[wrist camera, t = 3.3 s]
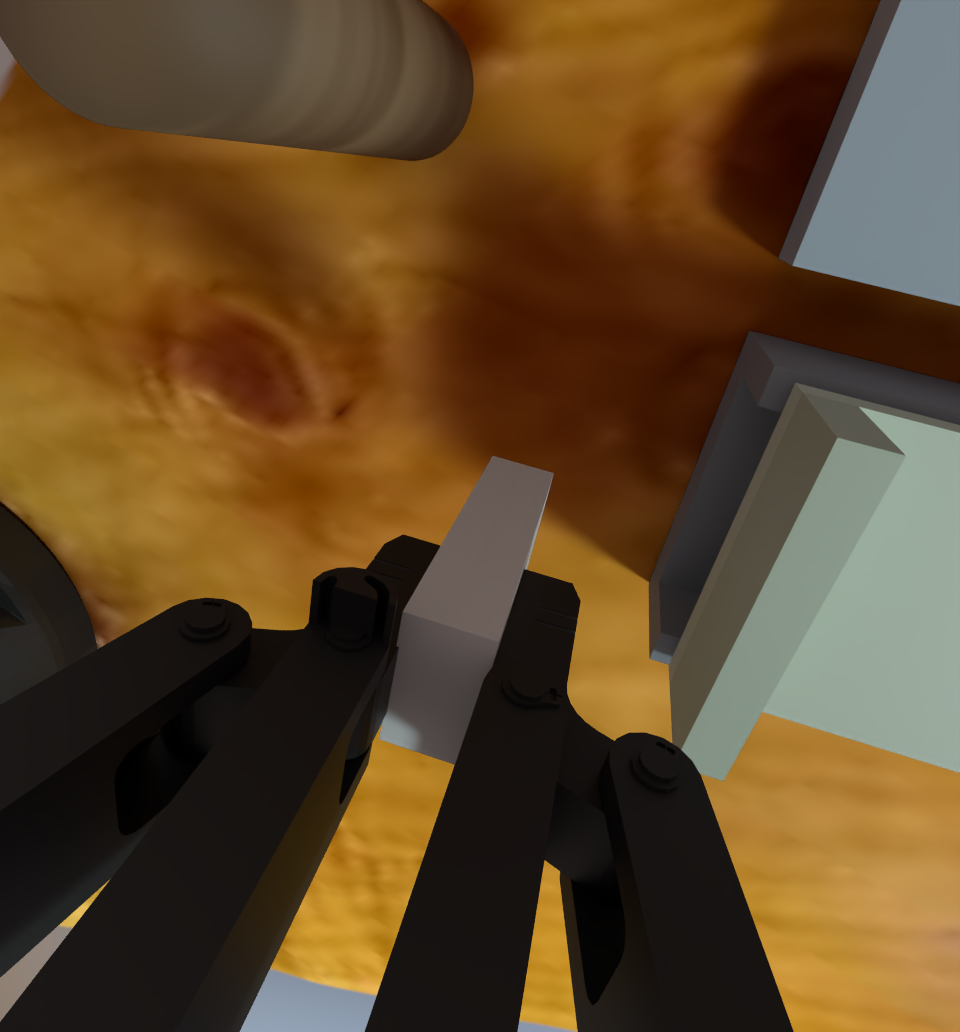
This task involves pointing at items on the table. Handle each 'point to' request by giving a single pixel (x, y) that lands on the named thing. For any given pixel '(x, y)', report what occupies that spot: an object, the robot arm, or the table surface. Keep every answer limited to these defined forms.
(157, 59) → the pin
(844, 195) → the socket
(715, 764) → the cover
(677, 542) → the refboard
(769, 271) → the table surface
